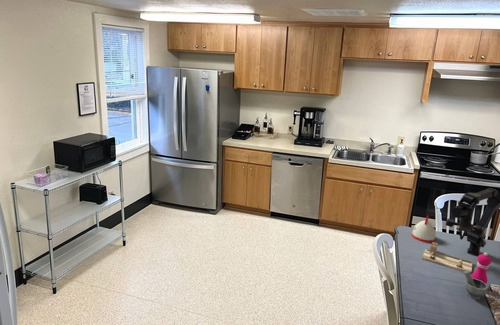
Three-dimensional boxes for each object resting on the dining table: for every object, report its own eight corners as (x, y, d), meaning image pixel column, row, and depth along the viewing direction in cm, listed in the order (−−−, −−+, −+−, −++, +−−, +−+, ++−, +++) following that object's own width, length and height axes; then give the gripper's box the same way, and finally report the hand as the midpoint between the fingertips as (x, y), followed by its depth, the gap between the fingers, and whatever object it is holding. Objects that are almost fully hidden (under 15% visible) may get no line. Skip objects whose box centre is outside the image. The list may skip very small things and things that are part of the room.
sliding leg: (430, 249, 222) (432, 241, 220) (436, 250, 220) (437, 243, 219) (428, 256, 213) (429, 249, 212) (433, 258, 211) (435, 250, 210)
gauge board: (425, 249, 224) (426, 246, 223) (472, 263, 211) (473, 260, 210) (422, 259, 214) (422, 255, 213) (470, 273, 201) (471, 270, 200)
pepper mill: (487, 291, 185) (497, 257, 180) (472, 289, 187) (481, 255, 181) (482, 283, 192) (490, 250, 187) (467, 281, 194) (475, 248, 188)
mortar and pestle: (485, 294, 183) (491, 274, 180) (483, 304, 176) (489, 282, 172) (460, 286, 189) (465, 265, 186) (457, 294, 182) (462, 273, 179)
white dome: (435, 236, 242) (440, 215, 238) (433, 244, 231) (437, 223, 227) (413, 230, 249) (417, 210, 245) (410, 238, 238) (414, 217, 234)
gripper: (447, 215, 208) (441, 239, 212) (485, 224, 198) (479, 249, 203) (449, 209, 217) (444, 232, 221) (485, 217, 207) (479, 242, 212)
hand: (461, 239), depth 214 cm, fingers closed
